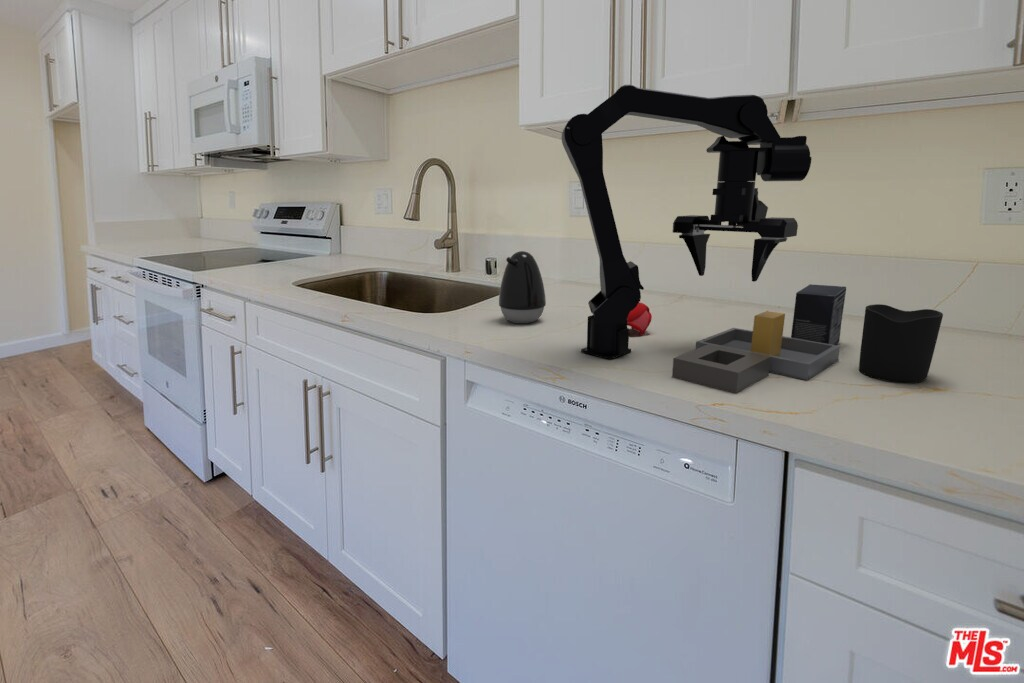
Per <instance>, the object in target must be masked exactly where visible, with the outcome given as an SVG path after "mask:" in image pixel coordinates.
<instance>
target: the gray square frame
mask: <svg viewBox="0 0 1024 683" xmlns="http://www.w3.org/2000/svg"><path fill="white" fill-rule="evenodd" d="M770 360H771V356H767V355H762V354H757V353H751V352H746V351H741V350H736V349H731V348H726V347H721V346H716V345H711V344H707V345H705V346H702V347H700V348H697V349H696V348H695V349H692V350H690V351H688V352H685V353H682V354H680V355H677V356H675V357H673V359H672V373H671V374H672V376H671V378H675V379H679V380H683V381H686V382H687V381H688V382H691V383H693V384H694V383H695V384H698V385H703V386H707V387H710V388H714V389H718V390H722V391H726V392H730V393H734V394H737V393H739V392H741V391H743V390H745V389H746V388H749V387H750V386H752V385H754V384H755V383H757V382H759V381H761V380H763V379H764V378H766V377H768V376H769V375H770V372H769V368H770Z"/></svg>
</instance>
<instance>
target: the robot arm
mask: <svg viewBox="0 0 1024 683" xmlns="http://www.w3.org/2000/svg"><path fill="white" fill-rule="evenodd" d="M768 113H769V112H768V107H767V105H766V102H765V101H764V98H762V97H761V96H758V95H755V94H741V95H740V94H739V95H737V94H735V95H726V96H716V97H715V96H714V97H704V96H700V95H691V94H684V93H678V92H677V93H676V92H672V91H671V92H670V91H663V90H658V89H657V90H656V89H652V88H651V89H650V88H643V87H638V86H635V85H633V84H624V85H622V86H620V87H619V88H618V89H616V91H615V92H614V93H613V94H611V96H609V97H608V98H607V99H605V100H604V101H603V102H601V103H600V104H599V105H597V106H596V107H595V108H594V109H593V110H592V111H591V110H590V112H589V113H580V114H576V115H574V116H572V117H571V118H570V119H569V120H568V122H567V123H566V124H565V126H564V128H563V129H562V132H561V142H562V146H563V149H564V151H565V153H566V155H567V157H568V159H569V161H570V164H571V166H572V167H573V169H574V171H575V174H576V175H577V178H578V181H579V184H580V187H581V191H582V196H583V199H584V202H585V207H586V212H587V216H588V219H589V223H590V226H591V230H592V234H593V238H594V242H595V247H596V249H597V254H598V259H599V284H600V290H599V292H598V293H597V294H595V295H594V296H593V297H592V298H591V299H590V300H588V301H587V302H588V307H589V310H590V313H591V314H592V315H590V316H587V325H586V326H587V332H586V334H587V335H586V347H584V348H581V349H580V350H581V351H580V352H581V353H585V354H589V355H592V356H596V357H600V358H604V359H609V360H612V359H615V358H618V357H620V356H624V355H627V354H630V353H632V348H629V341H630V329H629V328H628V325H627V323H628V319H627V317H628V315H629V313H630V311H632V310H633V309H634V308H635V307H636V306H637V305H638V303H639V302H640V303H641V298H642V294H641V290H642V291H643V290H644V289H645V288H644V286H643V285H642V284H641V281H640V271H639V265H637V264H635V263H634V262H633V261H632V260H630V261H628V262H627V260H626V259H625V256H624V253H623V248H622V244H621V241H620V236H619V233H618V228H617V225H616V220H615V217H614V216H615V215H614V212H613V209H612V204H611V200H610V195H609V192H608V188H607V183H606V180H605V175H604V146H603V133H605V132H606V131H607V130H609V129H610V128H611V127H612V126H613V125H615V124H616V123H617V122H618V121H620V120H621V119H622V118H624V117H625V116H633V117H641V118H647V119H652V120H653V119H655V120H662V121H668V122H674V123H682V124H687V125H695V126H698V127H701V128H703V129H705V130H707V131H709V132H711V133H714V134H717V135H719V136H718V137H716V139H715V140H714V142H713V143H712V144H711V145H709V146H708V147H707V148H706V153H708V154H711V153H713V154H715V153H718V154H719V158H718V160H719V161H718V170H717V171H718V172H717V183H716V188H712V196H715V205H714V214H710V217H709V216H708V215H695V214H690V215H677V216H676V218H674V221H673V222H672V233H674V234H675V233H676V234H679V235H678V238H679V239H682V240H683V241H684V243H685V245H686V247H687V249H688V251H689V253H690V255H691V257H692V260H693V263H694V266H695V268H696V271H697V273H698V275H699V277H702V276H705V271H706V264H707V263H706V262H707V260H706V259H707V245H708V244H707V243H708V242H709V239H710V237H711V236H710V235H711V234H710V233H705V232H706V231H713V232H714V231H716V232H718V231H719V232H735V233H737V232H740V233H756V234H758V235H759V237H761V238H755V239H754V241H753V253H752V262H751V263H752V264H751V282H754V283H755V282H757V281H758V279H759V277H760V276H761V273H762V271H763V269H764V267H765V265H766V263H767V260H768V259H769V257H770V255H771V254H772V252H773V251H774V249H775V248H776V247H777V246H778V245H779V244H780V243H785V242H787V240H788V238H791V237H797V234H798V227H799V225H798V224H799V223H798V222H797V220H796V218H794V217H767V213H768V210H769V207H768V206H767V205H766V203H764V202H763V201H762V200H760V199H759V188H758V187H756V180H757V176H760V178H761V180H762V181H763V182H802V181H803V180H804V179H805V178H806V177H807V176H808V174H809V172H810V168H811V164H812V159H813V158H812V156H811V151H810V148H809V145H808V144H807V138H808V136H806V135H797V136H791V137H786V136H785V137H781V136H780V134H779V132H778V131H777V129H776V127H775V125H774V124H773V122H772V121H771V119H770V117H769V116H768ZM727 138H728V139H738V140H727ZM757 145H759V147H753V146H757ZM749 146H752V147H749ZM725 222H727V224H724V225H723V224H722V223H725Z"/></svg>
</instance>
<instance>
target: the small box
mask: <svg viewBox="0 0 1024 683" xmlns="http://www.w3.org/2000/svg"><path fill="white" fill-rule="evenodd" d="M846 291H847V286H841V285H827V284H826V285H825V284H823V285H822V284H808V285H807V286H805V287H803V288H802V289H800V290H798V291H797V292H796V293H795V303H794V309H793V317H792V319H793V320H792V326H791V335H790V337H791V338H797V339H803V340H808V341H814V342H820V343H826V344H832V345H838V344H839V343H840V338H841V329H842V320H843V314H844V306H845V302H846V293H847V292H846Z"/></svg>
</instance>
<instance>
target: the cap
mask: <svg viewBox="0 0 1024 683" xmlns="http://www.w3.org/2000/svg"><path fill="white" fill-rule="evenodd" d="M652 318H653V317H652V313H651V312H650V307H649V306H648V305H646V303H643V302H641V301H640V302H639V303H638V305H637V306H636V307H635V308H634V309H633V310H632V311H630V313H629V315H628V317H627V319H628V323H627V327H631V328H630V329H631V330H633V331H636V332H638V334H639V335H640V336H643V335H645V333H646V331H647V329H648V328H649V326H650V325H651V322H652V320H653V319H652Z"/></svg>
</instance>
